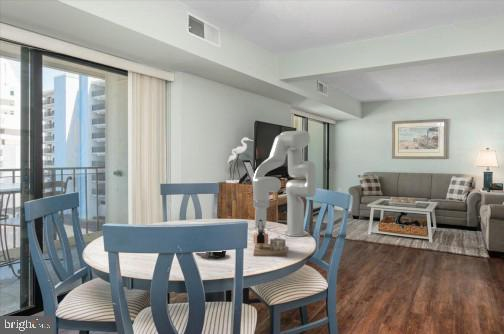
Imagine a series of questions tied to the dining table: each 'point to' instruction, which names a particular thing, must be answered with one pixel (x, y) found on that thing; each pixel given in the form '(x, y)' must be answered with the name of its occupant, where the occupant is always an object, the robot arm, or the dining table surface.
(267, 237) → the terracotta gear
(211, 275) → the dining table surface
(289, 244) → the dining table surface
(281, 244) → the gear board
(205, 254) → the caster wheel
